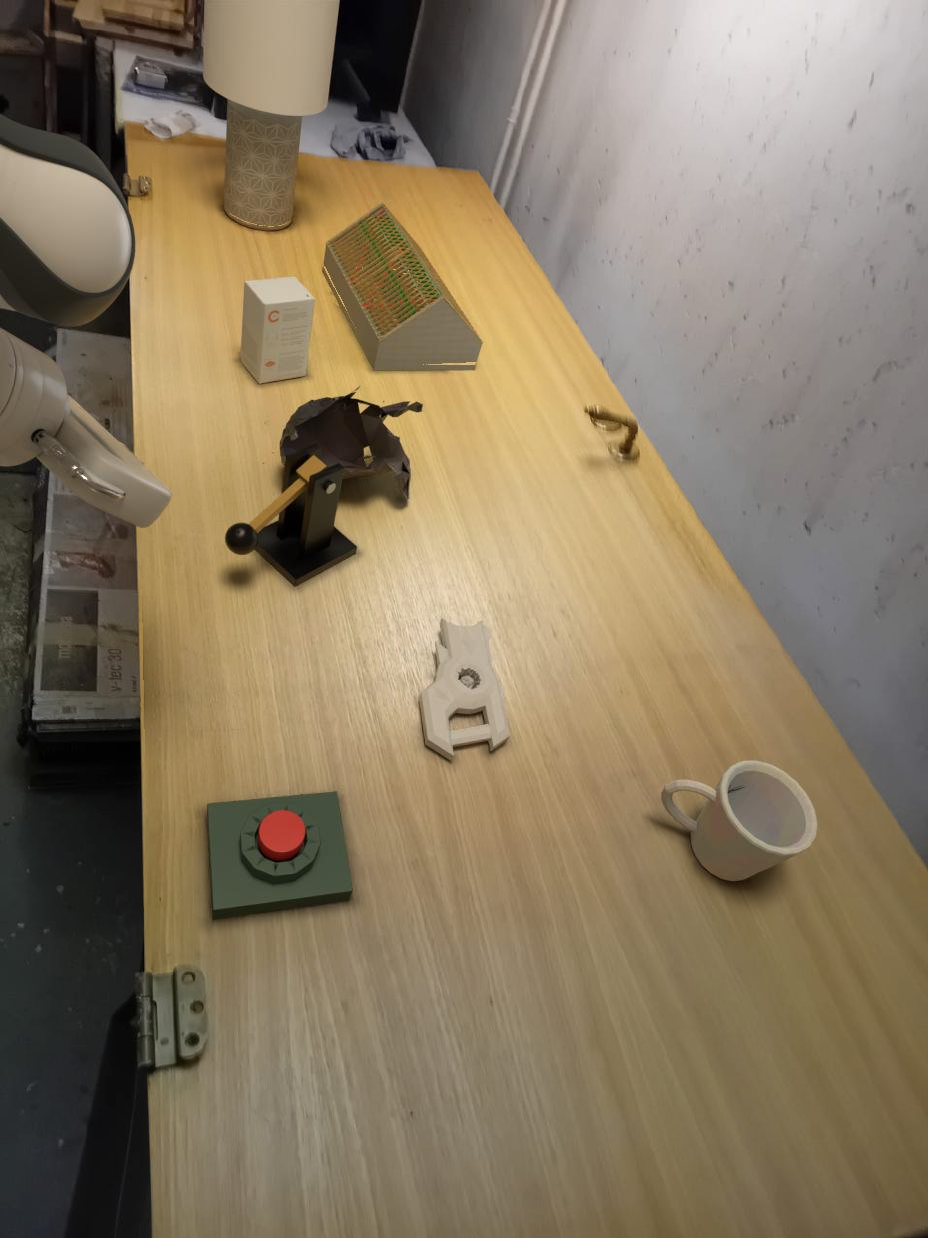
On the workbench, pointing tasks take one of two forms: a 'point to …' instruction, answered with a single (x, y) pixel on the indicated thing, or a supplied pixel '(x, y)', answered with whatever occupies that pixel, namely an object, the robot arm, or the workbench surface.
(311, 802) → the button box
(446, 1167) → the workbench surface
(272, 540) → the black lever stand
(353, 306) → the grey sloped slatted box
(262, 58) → the lamp
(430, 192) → the workbench surface
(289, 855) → the button
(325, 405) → the crumpled paper
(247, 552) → the lever
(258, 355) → the small box
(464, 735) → the beige holed clip
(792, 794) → the mug
